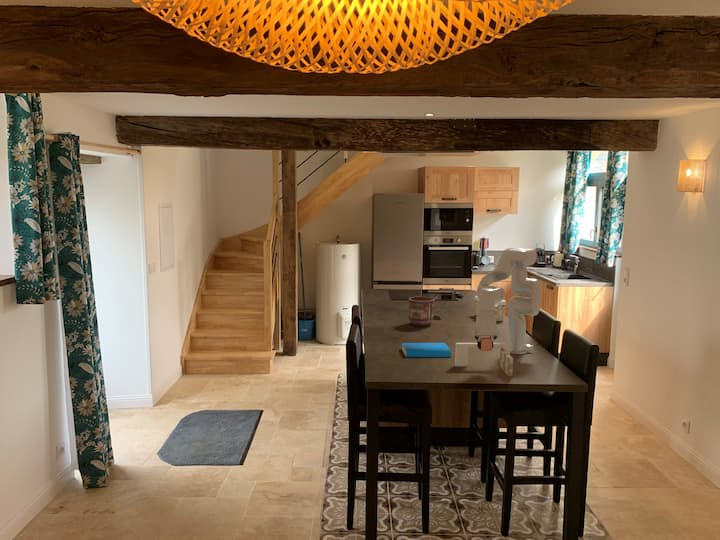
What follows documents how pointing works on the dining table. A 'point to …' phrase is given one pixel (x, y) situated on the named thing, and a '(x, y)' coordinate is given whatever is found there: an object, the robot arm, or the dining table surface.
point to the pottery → (421, 311)
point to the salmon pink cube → (486, 344)
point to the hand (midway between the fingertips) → (485, 348)
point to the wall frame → (462, 348)
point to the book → (426, 350)
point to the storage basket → (498, 307)
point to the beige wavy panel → (506, 362)
